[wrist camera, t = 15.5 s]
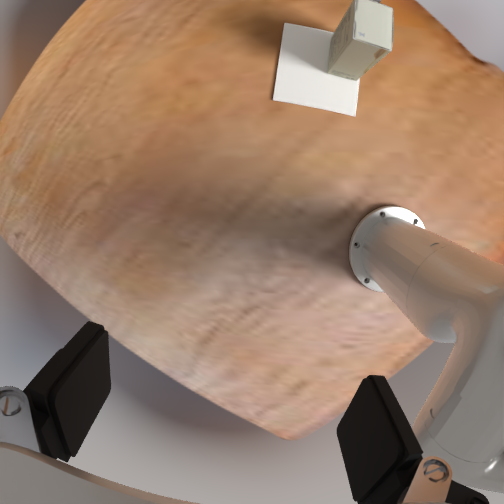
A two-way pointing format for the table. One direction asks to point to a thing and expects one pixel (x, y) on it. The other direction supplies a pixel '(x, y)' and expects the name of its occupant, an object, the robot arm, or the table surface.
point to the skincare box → (361, 39)
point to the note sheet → (311, 73)
